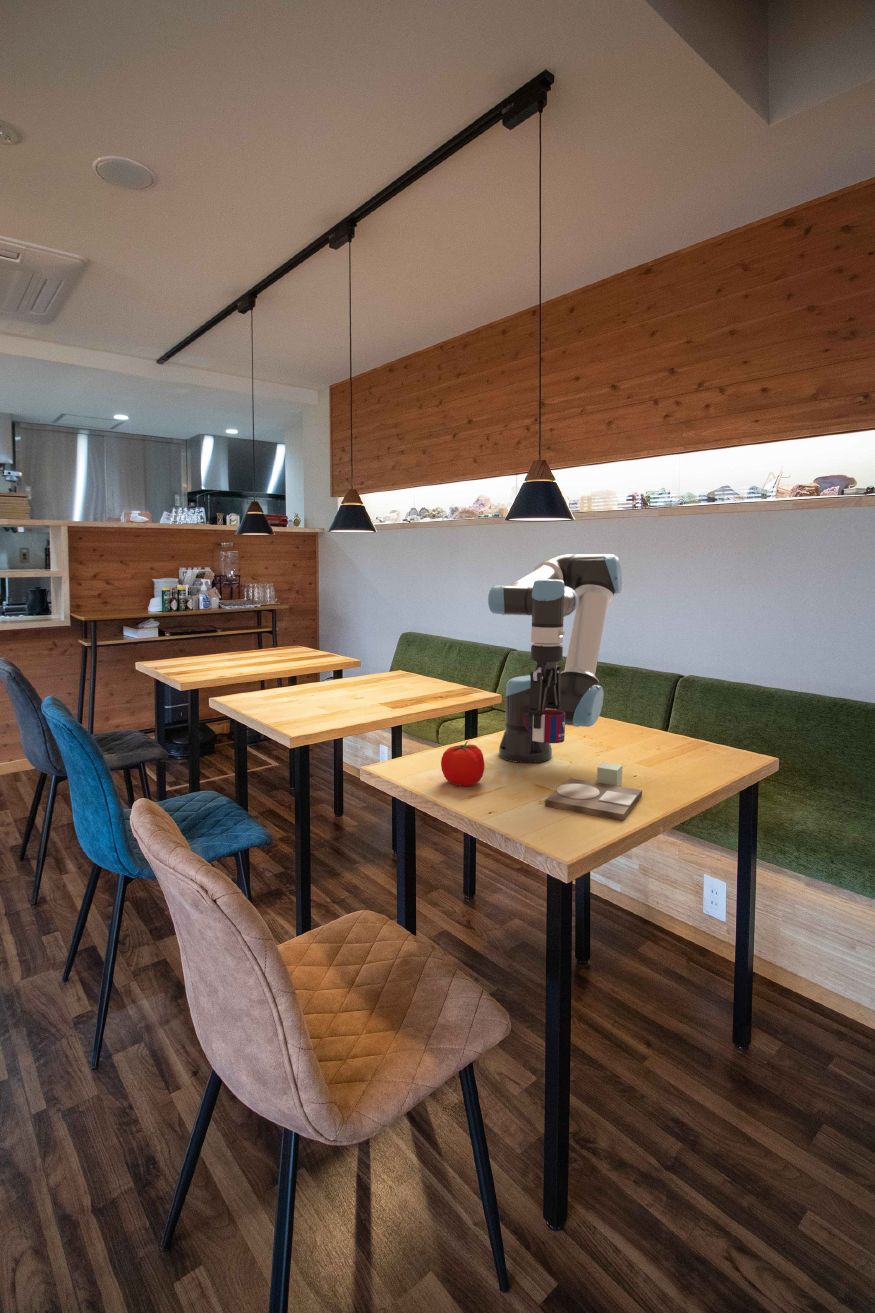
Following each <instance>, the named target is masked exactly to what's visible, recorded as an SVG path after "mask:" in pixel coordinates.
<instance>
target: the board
mask: <svg viewBox="0 0 875 1313" xmlns="http://www.w3.org/2000/svg"><path fill="white" fill-rule="evenodd" d="M642 796H643V790H642V789H639V788H632V787H626V786H621V785H620V786H615V785H609V784H603V783H597V781H590V780H583V779H577V778H571V777H569V778H568V779H567V780H566V781H564V782H563V783H562V784H561V785H560V786H558V787H557V788H556V789H555V791H553V792H552V793H551V794H550V795H549V796H547V798H545V799H544V807H548V808H554V809H558V810H564V811H569V812H574V813H579V814H586V815H591V816H596V817H601V818H604V819H605V818H606V819H612V820H617V821H622V822H624V821H625V819H626V818H627V816H628V815H629V814H630V813H631V811H632V810H633V808H634V807H635V806H636V804H637V803H638V802H639V801H640V799H641V798H642Z"/></svg>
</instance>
